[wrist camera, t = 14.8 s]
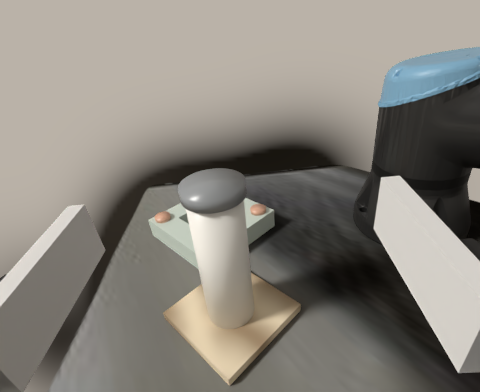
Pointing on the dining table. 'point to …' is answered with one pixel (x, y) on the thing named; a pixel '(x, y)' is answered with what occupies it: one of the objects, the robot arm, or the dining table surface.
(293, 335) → the dining table surface
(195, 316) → the board
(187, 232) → the frame
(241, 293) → the cylinder
